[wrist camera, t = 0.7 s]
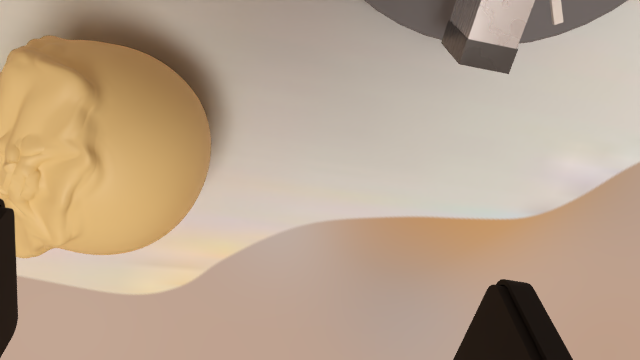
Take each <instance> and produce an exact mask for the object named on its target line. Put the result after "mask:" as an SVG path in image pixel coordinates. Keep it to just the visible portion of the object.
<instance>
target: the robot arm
mask: <svg viewBox="0 0 640 360" xmlns="http://www.w3.org/2000/svg"><path fill="white" fill-rule="evenodd" d="M17 308H18V306H17V275H16V245H15V215H14V211H13V209H11V208H6V207H5V203H4V201H3V200H2V199H0V357H1V355H2V354H3V352H4V350H5V349H6V347H7V345H8V343H9V341H10V340H11V338H12V336H13V334H14V331H15V328H16V325H17V319H18V309H17ZM453 360H573V359H572V357H571V355H570V354H569V352H568V350H567V348H566V346H565V345H564V343H563V341H562V339H561V337H560V335H559V334H558V332H557V330H556V328H555V327H554V325H553V323H552V321H551V319H550V317H549V316H548V314H547V312H546V310H545V308H544V307H543V305H542V303H541V301H540V299H539V298H538V296H537V294H536V292H535V290H534V289H533V287H532V286H531V285H530V284H528V283H524V282H517V281H511V280H505V279H503V280H500V281H498V282H497V284H496V285H491V286H489V288H488V289H487V291H486V293H485V295H484V297H483V299H482V301H481V304H480V306H479V308H478V310H477V312H476V314H475V316H474V318H473V320H472V322H471V324H470V326H469V328H468V330H467V332H466V334H465V337H464V339H463V341H462V343H461V345H460V347H459V349H458V351H457V353H456V355H455V357H454V359H453Z"/></svg>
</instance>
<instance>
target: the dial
mask: <svg viewBox="0 0 640 360" xmlns="http://www.w3.org/2000/svg"><path fill="white" fill-rule="evenodd" d="M534 2H535V0H456V2H455V5H454V8H453V11H452V14H451V18H450V20H448V23H447V26H446V29H445V32H444V36H443V39H442V42H441V43H442V44H443V46H444V47H445V48H446V49H447V50H448V51H449V53H450V54H451V55H452V56H453V57H454V59H455V60H456V61H457V62H458V63H459V64H461V65H466V66H471V67H477V68H482V69H487V70H492V71H497V72H502V73H507V74H509V72H510V69H511V66H512V64H513V61H514V58H515V56H516V53H517V51H518V49H517V46H518V44H519V41H520V39H521V36H522V33H523V31H524V28H525V25H526V23H527V20H528V17H529V15H530V12H531V10H532V7H533V4H534Z"/></svg>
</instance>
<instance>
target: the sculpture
mask: <svg viewBox="0 0 640 360" xmlns="http://www.w3.org/2000/svg"><path fill="white" fill-rule="evenodd" d="M210 154H211V136H210V129H209V124H208V120H207V117H206V114H205V111H204V109H203V107H202V104H201V103H200V101H199V99H198V97H197V96H196V94H195V93H194V91H193V90H192V89H191V87H190V86H189V85H188V84H187V83H186V82H185V81H184V80H183V79H182V78H181V77H180V76H179V75H178V74H177V73H176V72H175V71H173V70H172V69H171V68H169V67H168V66H167V65H165V64H164V63H162V62H161V61H159V60H157V59H155V58H154V57H152V56H150V55H148V54H145V53H143V52H141V51H138V50H135V49H132V48H129V47H125V46H121V45H116V44H110V43H104V42H98V41H90V40H67V39H62V38H59V37H55V36H50V35H48V36H43V37H42V38H40V39H32V40H30V41H29V42H28V43H27V45H26V46H22V47H20V48H18V49H14V50H12V51H11V52H10V54H9V55H8V57H7V61H6V64H5V66H4V68H3V70H2V72H0V199H2V200H3V201H4V203H5V207H6V208H11V209H13V211H14V215H15V245H16V257H19V258H30V257H36V256H39V255H41V254H43V253H45V252H46V251H48V250H50V249H53V248H61V249H65V250H69V251H73V252H78V253H84V254H93V255H111V254H120V253H126V252H130V251H134V250H137V249H140V248H143V247H145V246H148V245H150V244H152V243H154V242H155V241H157V240H159V239H160V238H162V237H163V236H165V235H166V234H167V233H169V232H170V231H171V230H172V229H173V228H175V227H176V226H177V225H178V224H179V223H180V222H181V221H182V219H183V218H184V217H185V216H186V215H187V213H188V212H189V211H190V209H191V208H192V206H193V205H194V203H195V201H196V199H197V198H198V196H199V194H200V192H201V189H202V187H203V184H204V182H205V179H206V175H207V172H208V168H209V162H210Z"/></svg>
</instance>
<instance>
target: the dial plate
mask: <svg viewBox="0 0 640 360" xmlns="http://www.w3.org/2000/svg"><path fill="white" fill-rule="evenodd" d="M365 1H366V2H367V3H369V4H370V5H371V6H372V7H373V8H375V9H376V10H377V11H379V12H381V13H382V14H384V15H385V16H387V17H389V18H390V19H392V20H394V21H395V22H397V23H398V24H400V25H403V26H405V27H407V28H410V29H412V30H414V31H416V32H419V33H421V34H423V35H426V36H430V37H434V38H437V39H441V40H442V39H443V36H444V32H445V29H446V26H447V23H448V20H450V18H451V14H452V11H453V8H454V5H455V2H456V0H365ZM626 1H627V0H535V2H534V4H533V7H532V10H531V12H530V15H529V17H528V20H527V23H526V25H525V28H524V31H523V33H522V36H521V39H520V41H519V43H527V42H533V41H536V40H540V39H544V38H548V37H552V36H556V35H559V34H562V33H564V32H567V31H570V30H572V29H575V28H577V27H580V26H582V25H585V24H587V23H589V22H591V21H593V20H595V19H597V18H599V17H601V16H602V15H604V14H606V13H608V12H610V11H612V10H614V9H615V8H617V7H618V6H620V5H621V4H623V3H624V2H626Z"/></svg>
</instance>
